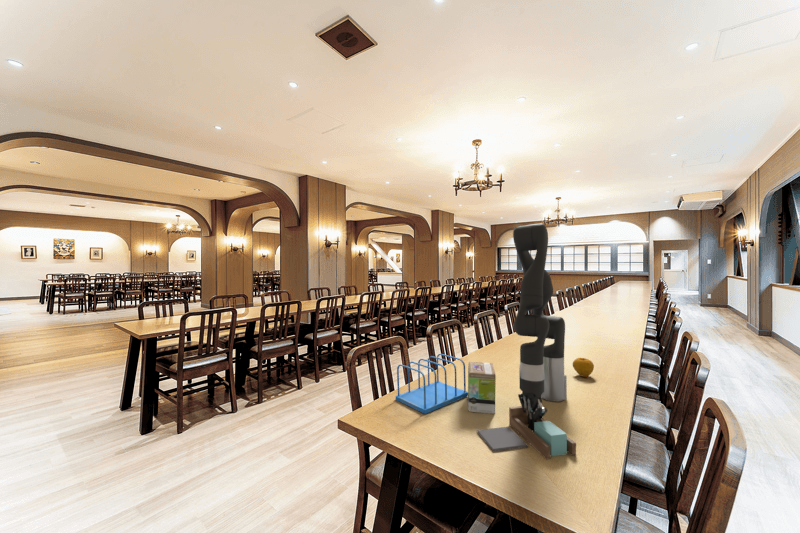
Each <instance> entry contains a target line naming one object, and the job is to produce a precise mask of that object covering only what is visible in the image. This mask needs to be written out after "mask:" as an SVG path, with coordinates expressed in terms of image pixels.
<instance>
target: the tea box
mask: <svg viewBox="0 0 800 533" xmlns="http://www.w3.org/2000/svg"><path fill="white" fill-rule="evenodd" d="M467 373H468V374H467V392H468V396H467V397H468V398H467V400H468V401H467V403H468V412H472V413H482V414H483V413H484V414H492V415H493V414H495V413H496V378H497V376H496V371H495V368H494V363H492V362H482V361H479V362H478V361H468V370H467Z"/></svg>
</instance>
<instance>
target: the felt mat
mask: <svg viewBox="0 0 800 533" xmlns="http://www.w3.org/2000/svg"><path fill="white" fill-rule="evenodd" d="M477 434H478V435H479V436H480V437H481V439H482V440H483V441H484V442H485V443H486V445H487V446H488V447H489V448H490V450H491V451H492V452H501V451H509V450H515V449H516V450H517V449H523V448H524V449H525V448H528V443H527V442H525V441H524V439H522V438H521V437H520V435H518V433H516V432H515V431H514V430H513V429H512V428H511V427H510V426H503V427H493V428H484V429H477Z"/></svg>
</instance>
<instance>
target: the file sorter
mask: <svg viewBox="0 0 800 533" xmlns="http://www.w3.org/2000/svg"><path fill="white" fill-rule="evenodd" d="M440 356H442V357H448V358H451V359H454V360H458V361H461V363H462V365H463V389H461V388H458V387H457V385H458V384H457V366H456V365H455V363H454V362H453V361H451V360H449V359H445V358H440ZM431 358H432V359H436V362H435V361H432V360H431ZM422 361H424V362H427V365H425V364H422V363H421V362H422ZM439 361H443V362H447V363H450V364H451V365H452V366H453V368H454V386H452V385H450V384H448V382H447V381H448V380H447V378H448V377H447V369H446V367H445V366H444V365H443V364H442V363H441V364H440V363H439ZM430 363H431V364H434V365H436V370H435V369H434V368H433V367H431V366H430ZM411 364H414V365H417V369H416V368H413V367H410V366H411ZM420 366H421V367H423V368H426V369H427V384H426V377H425V374H424V373H423V371H421V370H420ZM439 366H440V367H442V369H443V371H444V382H441V381H439V378H440V377H439ZM400 367H403V368H406V369H407V377H408V378H407V379H408V383H407V384H408V385H407V387H408V388H407V389H408V390H407V391H406V392H402V393H400V375H399V373H400V372H399V371H400ZM411 370H412V371H415V372H417V373H418V374H417V376H418V377H417V380H418V387H417V388H414V389H411V377H410V376H411ZM430 371H432V372H433V374H434V381H433V382H432V383H431V382H430ZM396 374H397V376H396V378H397V379H396V380H397V395H395V401H397V402H399V403H402V404H403V405H406V406H408V407H409V408H412V409H414V410H416V411H418V412H420V413H422V414H424V415H427V414H428V413H431V412H433V411H435V410H439V409H440V408H443V407H445V406H447V405H450V404H452V403H455V402H457V401H458V400H461V399H464V398H467V397H468V390H466V389H467V388H466V364H465V362H464V360H463V359H461V358H458V357H455V356H451V355H447V354H443V353H438V354H437V356H433V355H431V356H429V357H428V358H427V359H425V358H420V359H419V360H418V362H416V361H410V362H409V363H408V365H404V364H398V365H397V367H396ZM420 375H421V376H422V377H423V378H422V380H423V386H421V376H420Z"/></svg>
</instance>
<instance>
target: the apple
mask: <svg viewBox="0 0 800 533" xmlns="http://www.w3.org/2000/svg"><path fill="white" fill-rule="evenodd" d="M572 367H573V369H574V371H576V373H577V375H579V376H580V377H583V378H588V377H589V376H591V374H592V373H593V371H594V367H595V365H594V363H593V361H592V360H590V359H589V358H585V357H577V358H576V359H574V360H573V362H572Z"/></svg>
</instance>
